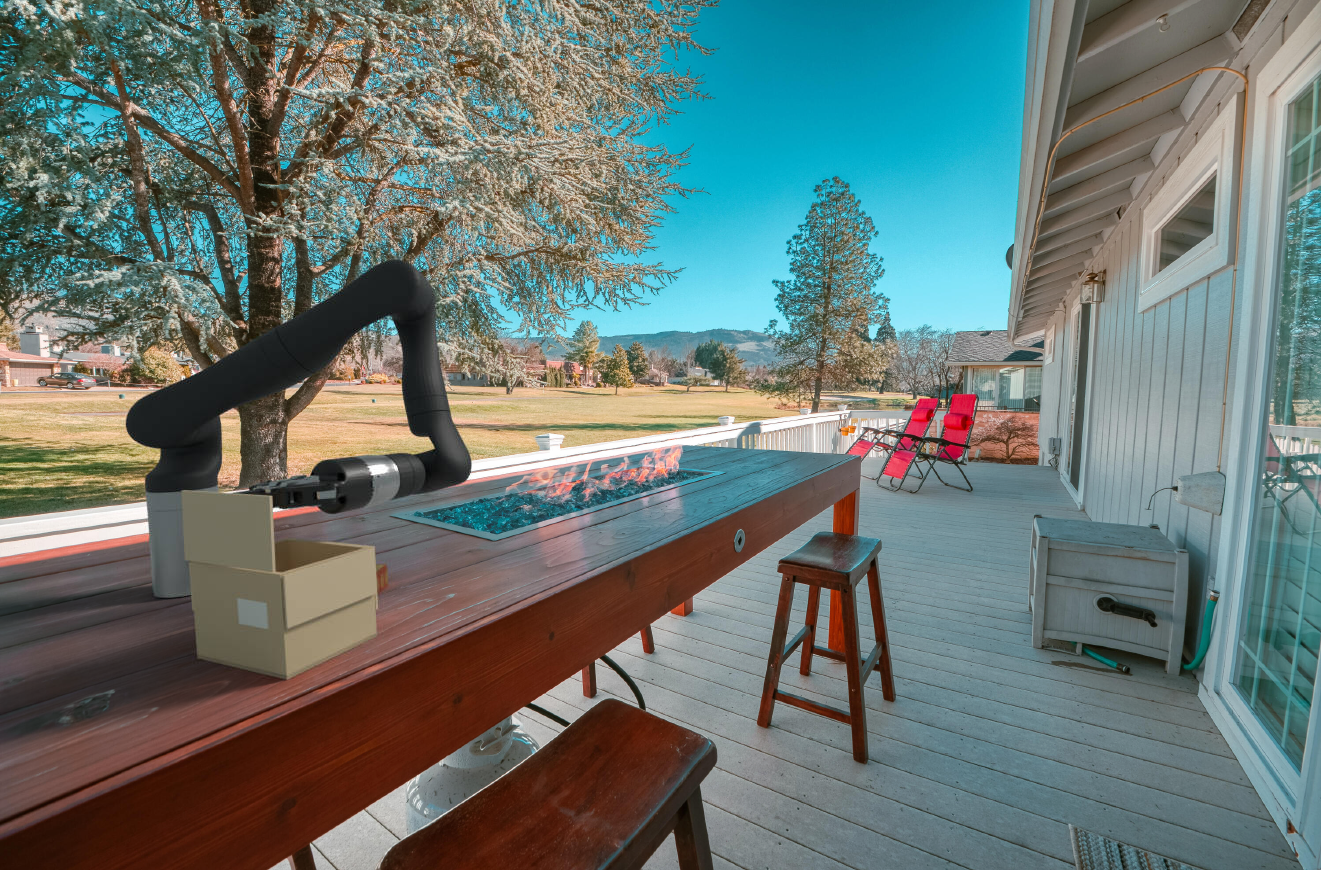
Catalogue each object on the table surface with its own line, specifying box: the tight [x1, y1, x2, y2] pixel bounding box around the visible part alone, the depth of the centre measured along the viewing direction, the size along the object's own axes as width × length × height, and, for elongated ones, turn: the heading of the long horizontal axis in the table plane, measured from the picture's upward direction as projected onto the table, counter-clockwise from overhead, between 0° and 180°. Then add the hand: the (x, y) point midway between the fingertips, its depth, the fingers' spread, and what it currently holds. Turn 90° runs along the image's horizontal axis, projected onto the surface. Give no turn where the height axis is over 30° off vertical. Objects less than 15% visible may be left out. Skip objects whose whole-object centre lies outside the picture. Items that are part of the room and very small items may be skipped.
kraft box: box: [189, 537, 379, 681], centre depth 70 cm, size 17×13×12 cm
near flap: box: [181, 490, 276, 573], centre depth 64 cm, size 16×8×1 cm
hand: (225, 504), depth 63 cm, fingers closed
